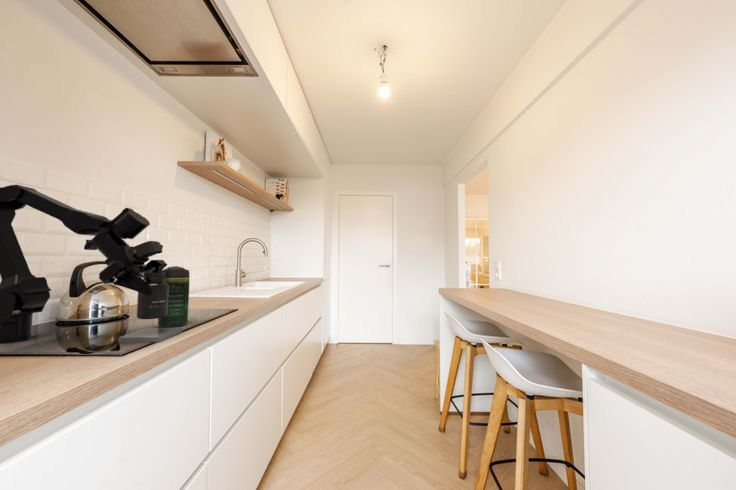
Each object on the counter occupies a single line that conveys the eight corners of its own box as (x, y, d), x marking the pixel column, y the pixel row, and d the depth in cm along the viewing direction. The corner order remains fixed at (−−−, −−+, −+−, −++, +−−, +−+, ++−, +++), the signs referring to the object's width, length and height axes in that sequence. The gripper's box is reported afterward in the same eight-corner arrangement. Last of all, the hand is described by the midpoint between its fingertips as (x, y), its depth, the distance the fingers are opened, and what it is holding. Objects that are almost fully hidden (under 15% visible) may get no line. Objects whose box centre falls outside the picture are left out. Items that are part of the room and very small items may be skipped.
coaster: (146, 332, 83) (146, 327, 83) (182, 331, 83) (182, 327, 83) (118, 342, 73) (118, 337, 73) (159, 342, 73) (159, 337, 73)
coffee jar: (189, 325, 91) (191, 266, 91) (158, 329, 86) (160, 266, 87) (186, 320, 98) (188, 265, 99) (157, 323, 94) (160, 265, 94)
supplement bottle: (157, 320, 75) (159, 273, 76) (129, 319, 75) (131, 273, 75) (173, 314, 82) (175, 272, 82) (147, 314, 82) (149, 271, 82)
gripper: (115, 227, 70) (162, 273, 70) (161, 233, 88) (198, 270, 89) (77, 259, 68) (125, 306, 69) (132, 258, 87) (169, 295, 88)
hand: (158, 292), depth 79 cm, fingers closed on supplement bottle, 7 cm apart
